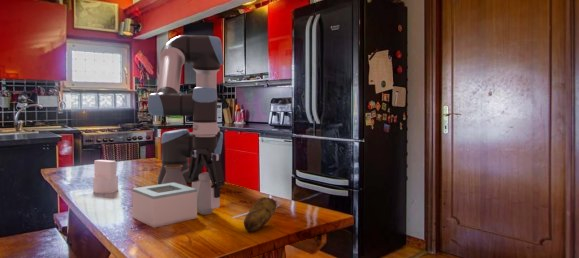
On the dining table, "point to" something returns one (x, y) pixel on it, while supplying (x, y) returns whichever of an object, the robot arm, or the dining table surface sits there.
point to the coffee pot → (174, 175)
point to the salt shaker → (204, 194)
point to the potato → (260, 214)
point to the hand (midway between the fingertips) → (205, 204)
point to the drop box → (164, 204)
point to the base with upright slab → (105, 176)
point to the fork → (248, 212)
